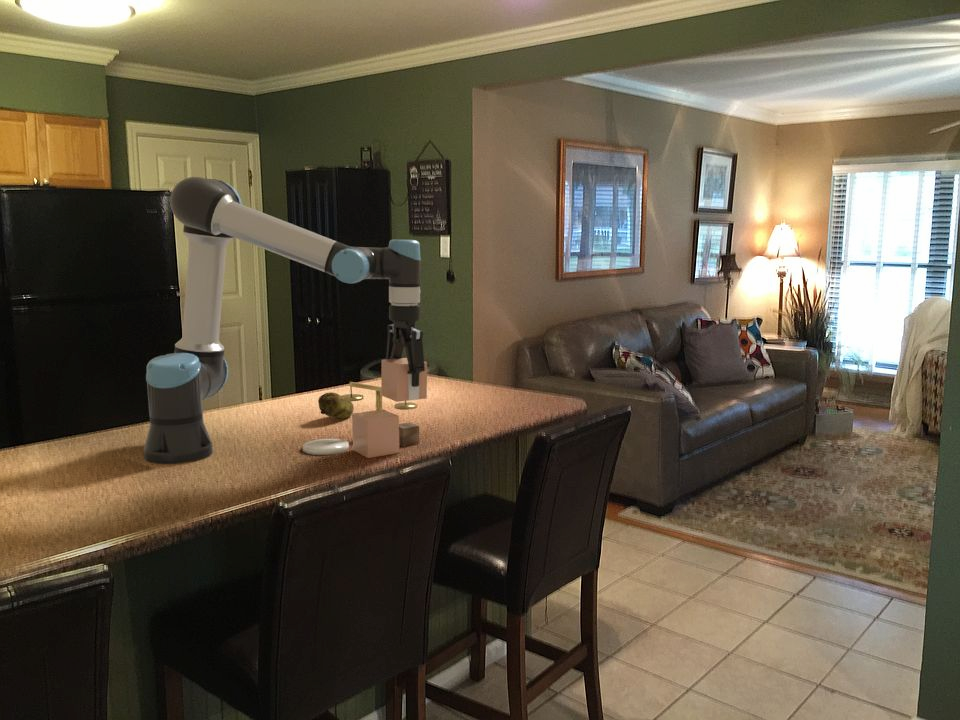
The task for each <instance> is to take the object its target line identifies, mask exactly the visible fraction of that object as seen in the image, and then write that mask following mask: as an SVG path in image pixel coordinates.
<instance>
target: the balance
mask: <svg viewBox="0 0 960 720" xmlns="http://www.w3.org/2000/svg"><path fill="white" fill-rule="evenodd" d="M348 384H349V385H348V386H349V387H350V393H349V394H341V395H340V396H339V400H341V401H351V402H359V401H362V400H364V395H363V394H357V393H353V391H352V389H353V388H359V389H364V390H365V389H366V390H370V391H374V392H375V407H376V408H375V410H382V409H383V396H381V386H379V385H378V386H377V385H371V384H365V383H360V382H354V381H349V383H348ZM393 406H394V409H395V410H402V411H407V410H409V411H410V410H415V409H417V408H418V403H415V402H409V401H404V402H396V403H395V404H394V405H393Z"/></svg>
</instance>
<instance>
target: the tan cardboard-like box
mask: <svg viewBox="0 0 960 720" xmlns="http://www.w3.org/2000/svg"><path fill="white" fill-rule="evenodd" d="M351 418H352V419H351V422H352V426H351V427H352V450H353V451H354V452H356V453H357V454H360V455H361V456H363V457H365V458H367V459H370V458H376V457H378V458H379V457H382V456H388V455H394V454H400V444H399V424H400V417H399V414H397V413H393V412H391V411H387V410H386V409H383V408H382V410H376V409H375V410H370V411H369V410H367V411H363V412H353V413H352V415H351Z"/></svg>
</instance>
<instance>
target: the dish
mask: <svg viewBox="0 0 960 720" xmlns="http://www.w3.org/2000/svg"><path fill="white" fill-rule="evenodd" d="M349 449H350V443H349V441H347V440H344V439H340V438H320V439H314V440H310V441H307V442H305V443H303V444H302V451H303V453H306V454H308V455H314V456H328V455H329V456H330V455H336V454H341V453H344V452H347V451H348V450H349Z"/></svg>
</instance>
